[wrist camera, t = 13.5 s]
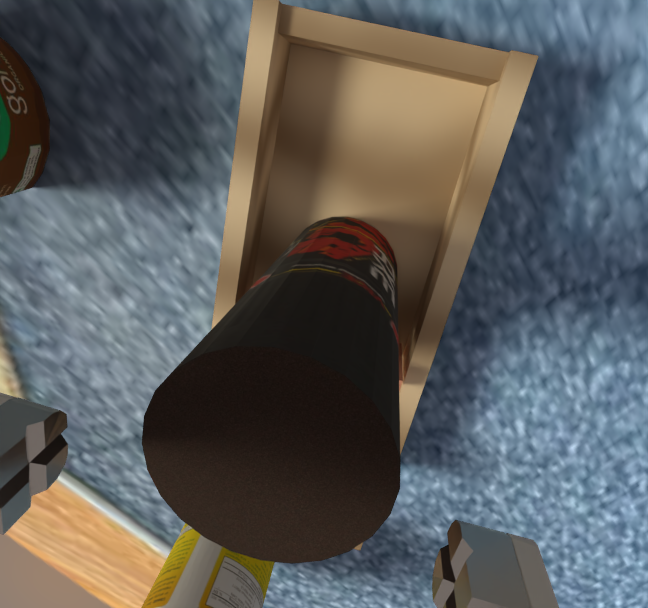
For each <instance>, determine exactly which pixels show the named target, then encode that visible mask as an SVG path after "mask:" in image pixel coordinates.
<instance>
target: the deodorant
mask: <svg viewBox="0 0 648 608" xmlns="http://www.w3.org/2000/svg"><path fill="white" fill-rule="evenodd" d="M142 446H143V451H144V455H145V460H146V465H147V470H148V472H149V474H150V476H151V478H152V480H153V482H154V484H155V486H156V487H157V489H158V491H159V493H160V495H161V497H162V498H163V499H164V500H165V501H166V503H167V504H168V505H169V506H170V507H171V508H172V510H173V511H174V512H175V513H176V514H177V516H178V517H179V518H180V519H181V520H183V521H184V522H185V523H186V524H188V525H189V526H190V527H192V528H193V529H194V530H195V531H197V532H198V533H199V534H200V535H202V536H203V537H204V538H206V539H208V540H210V541H212V542H214V543H216V544H218V545H220V546H222V547H224V548H226V549H228V550H230V551H232V552H235V553H238V554H242V555H245V556H248V557H252V558H255V559H258V560H262V561H272V562H282V563H302V562H312V561H322V560H325V559H328V558H331V557H334V556H337V555H340V554H343V553H346V552H349V551H350V550H352V549H354V548H355V547H357V546H358V545H360V544H361V543H363V542H364V541H366V540H367V539H369V538H370V537H372V536H373V535H374V534H375V532H376V531H377V530H378V529H379V528H380V526H381V525H382V524H383V523H384V521H385V520H386V519H387V518H388V517H389V515H390V514H391V511H392V508H393V506H394V503H395V500H396V498H397V495H398V492H399V490H400V403H399V342H398V282H397V262H396V259H395V255H394V251H393V249H392V248H391V246H390V244H389V242H388V241H387V239H386V238H385V237H384V236H383V235H382V234H381V233H380V232H379V231H378V230H377V229H376V228H375V227H373V226H371V225H369V224H368V223H366V222H364V221H362V220H359V219H355V218H351V217H330V218H326V219H323V220H319V221H317V222H315V223H314V224H312V225H310V226H309V227H307V228H305V229H304V231H303V232H302V233H301V234H300V235H299V236H298V237H297V238H296V239H295V240H294V241H293V242H292V243H291V245H290V246H289V247H288V248H287V249H286V250H285V251H284V252H283V253H282V254H281V255H280V256H279V258H278V259H277V260H276V261H275V262H274V263H273V264H272V265H271V266H270V267H269V268H268V269H267V270H266V272H265V273H264V274H263V275H262V276H261V277H260V278H259V279H258V280H257V281H256V282H255V283H254V285H253V286H252V287H251V288H250V289H249V290H248V291H247V292H246V293H245V294H244V295H243V296H242V297H241V299H240V300H239V301H238V302H237V303H236V304H235V305H234V306H233V307H232V308H231V309H230V310H229V311H228V313H227V314H226V315H225V316H224V317H223V318H222V319H221V320H220V321H219V322H218V323H217V324H216V326H215V327H214V328H213V329H212V330H211V331H210V332H209V333H208V334H207V335H206V336H205V337H204V338H203V340H202V341H201V342H200V343H199V344H198V345H197V346H196V347H195V348H194V349H193V350H192V351H191V353H190V354H189V355H188V356H187V357H186V358H185V359H184V360H183V361H182V362H181V363H180V364H179V365H178V367H177V368H176V369H175V370H174V371H173V372H172V373H171V374H170V375H169V376H168V377H167V378H166V380H165V381H164V382H163V383H162V384H161V385H160V386H159V387H158V388H157V389H156V390H155V392H154V395H153V397H152V399H151V401H150V404H149V406H148V408H147V411H146V413H145V415H144V424H143V436H142Z"/></svg>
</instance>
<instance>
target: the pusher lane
mask: <svg viewBox="0 0 648 608" xmlns="http://www.w3.org/2000/svg"><path fill="white" fill-rule="evenodd" d="M537 59H538V56H536V55H532V54H527V53H522V52H518V51H513V50H511V51H510V52H504V51H500V50H495V49H490V48H486V47H481V46H476V45H472V44H467V43H462V42H458V41H453V40H448V39H444V38H439V37H434V36H430V35H425V34H420V33H416V32H411V31H406V30H402V29H397V28H392V27H388V26H383V25H378V24H374V23H369V22H364V21H360V20H355V19H350V18H346V17H341V16H336V15H332V14H327V13H322V12H318V11H313V10H308V9H304V8H299V7H294V6H290V5H285V4H282V3H281V2H280V1H279V0H253V8H252V16H251V24H250V32H249V39H248V47H247V55H246V63H245V71H244V79H243V87H242V94H241V102H240V110H239V118H238V126H237V134H236V142H235V149H234V157H233V165H232V173H231V181H230V189H229V196H228V204H227V212H226V220H225V228H224V236H223V244H222V251H221V259H220V267H219V275H218V283H217V291H216V299H215V306H214V314H213V322H212V329H213V328H214V327H215V326H216V324H217V323H218V322H219V321H220V320H221V319H222V318H223V317H224V316H225V315H226V314H227V313H228V311H229V310H230V309H231V308H232V307H233V306H234V305H235V304H236V303H237V302H238V301H239V300H240V299H241V297H242V296H243V295H244V294H245V293H246V292H247V291H248V290H249V289H250V288H251V287H252V286H253V285H254V283H255V282H256V281H257V280H258V279H259V278H260V277H261V276H262V275H263V274H264V273H265V272H266V270H267V269H268V268H269V267H270V266H271V265H272V264H273V263H274V262H275V261H276V260H277V259H278V258H279V256H280V255H281V254H282V253H283V252H284V251H285V250H286V249H287V248H288V247H289V246H290V245H291V243H292V242H293V241H294V240H295V239H296V238H297V237H298V236H299V235H300V234H301V233H302V232H303V231H304V229H305V228H307V227H309V226H310V225H312V224H314V223H315V222H317V221H319V220H323V219H326V218H330V217H351V218H355V219H359V220H362V221H364V222H366V223H368V224H369V225H371V226H373V227H375V228H376V229H377V230H378V231H379V232H380V233H381V234H382V235H383V236H384V237H385V238H386V239H387V241H388V242H389V244H390V246H391V248H392V249H393V251H394V255H395V259H396V262H397V282H398V342H399V343H402V367H403V382H402V385H401V389H400V392H399V403H400V454H401V451H402V448H403V446H404V443H405V440H406V437H407V434H408V431H409V428H410V425H411V423H412V420H413V417H414V414H415V411H416V408H417V405H418V402H419V399H420V397H421V394H422V391H423V388H424V385H425V382H426V379H427V376H428V373H429V371H430V368H431V365H432V362H433V359H434V356H435V353H436V350H437V347H438V345H439V342H440V339H441V336H442V333H443V330H444V327H445V324H446V321H447V319H448V316H449V313H450V310H451V307H452V304H453V301H454V298H455V296H456V293H457V290H458V287H459V284H460V281H461V278H462V275H463V272H464V270H465V267H466V264H467V261H468V258H469V255H470V252H471V249H472V246H473V244H474V241H475V238H476V235H477V232H478V229H479V226H480V223H481V220H482V218H483V215H484V212H485V209H486V206H487V203H488V200H489V197H490V194H491V192H492V189H493V186H494V183H495V180H496V177H497V174H498V171H499V168H500V166H501V163H502V160H503V157H504V154H505V151H506V148H507V145H508V143H509V140H510V137H511V134H512V131H513V128H514V125H515V122H516V119H517V117H518V114H519V111H520V108H521V105H522V102H523V99H524V96H525V93H526V91H527V88H528V85H529V82H530V79H531V76H532V73H533V70H534V67H535V65H536V62H537ZM362 544H363V543H361V544H360V545H358V546H357V547H355V548H354V549H356V550H361V547H362Z"/></svg>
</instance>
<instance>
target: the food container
mask: <svg viewBox="0 0 648 608" xmlns="http://www.w3.org/2000/svg"><path fill="white" fill-rule="evenodd" d="M49 150H50V120H49V117H48V113H47V109H46V106H45V102H44V99H43V95H42V91H41V89H40V87H39V85H38V83H37V81H36V80H35V78H34V76H33V74H32V72H31V70H30V69H29V67H28V66H27V64H26V63H25V62H24V60H23V59H22V58H21V56H20V55H19V54H18V53H17V52H16V51H15V50H14V49H13V48H12V47H11V46H10V45H9V44H8V43H7V42H6V41H5V40H3V39H2V38H1V37H0V197H3V196H6V195H10V194H13V193H16V192H20V191H23V190H26V189H30V188H32V187H33V186H34V184H35V183H36V182H37V180H38V179H39V177H40V176H41V175H42V173H43V169H44V166H45V163H46V160H47V156H48V153H49Z"/></svg>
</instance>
